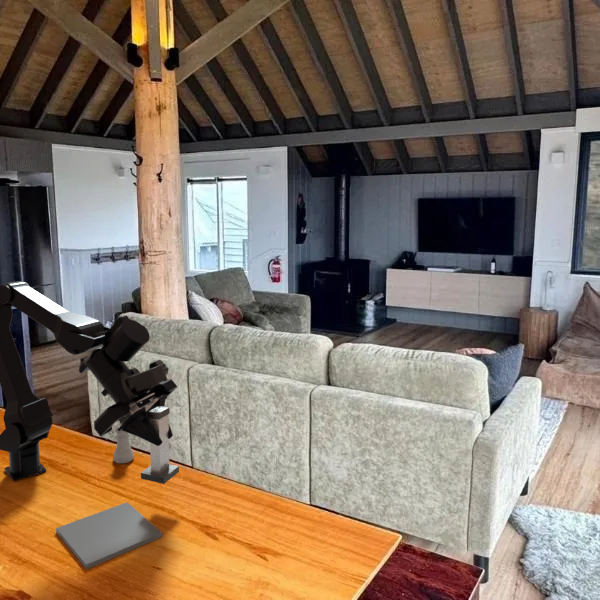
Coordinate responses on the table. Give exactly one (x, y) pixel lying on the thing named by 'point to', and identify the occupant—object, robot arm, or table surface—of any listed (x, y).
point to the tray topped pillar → (160, 449)
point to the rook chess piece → (122, 448)
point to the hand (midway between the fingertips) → (165, 440)
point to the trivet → (107, 534)
